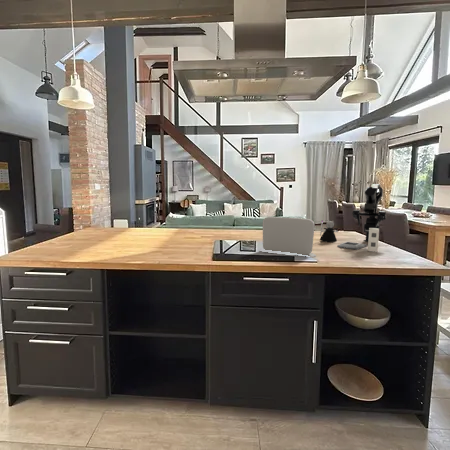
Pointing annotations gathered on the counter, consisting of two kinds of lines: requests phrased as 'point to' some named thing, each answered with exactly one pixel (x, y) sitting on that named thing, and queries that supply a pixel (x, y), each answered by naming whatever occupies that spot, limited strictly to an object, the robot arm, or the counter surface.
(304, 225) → the wireless router
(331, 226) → the toy
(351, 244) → the bracket plate
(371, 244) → the cream rectangular prism
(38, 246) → the counter surface
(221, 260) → the counter surface
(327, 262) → the counter surface
